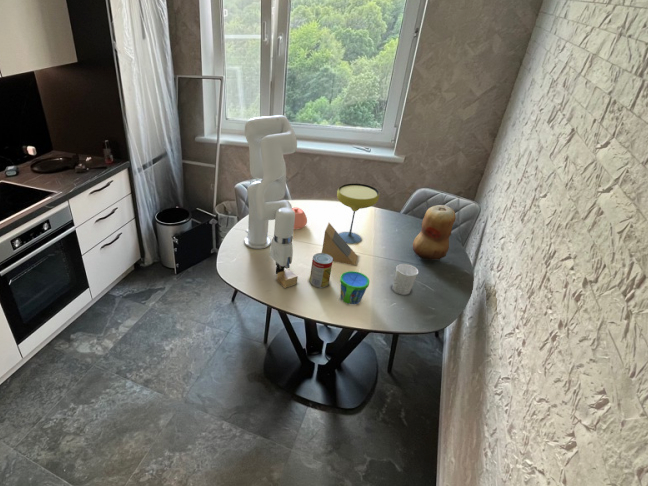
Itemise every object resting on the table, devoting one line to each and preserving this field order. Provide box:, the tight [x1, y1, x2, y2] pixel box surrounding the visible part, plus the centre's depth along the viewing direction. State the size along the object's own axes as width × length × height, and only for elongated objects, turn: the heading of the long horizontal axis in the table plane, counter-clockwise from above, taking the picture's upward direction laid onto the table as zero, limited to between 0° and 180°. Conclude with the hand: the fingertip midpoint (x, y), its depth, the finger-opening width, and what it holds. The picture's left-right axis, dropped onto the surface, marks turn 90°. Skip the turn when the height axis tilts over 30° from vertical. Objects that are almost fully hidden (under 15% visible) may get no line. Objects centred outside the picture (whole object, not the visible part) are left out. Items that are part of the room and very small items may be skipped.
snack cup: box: [339, 270, 370, 305], centre depth 155 cm, size 16×10×10 cm
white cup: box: [391, 263, 419, 296], centre depth 159 cm, size 8×8×10 cm
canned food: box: [309, 252, 333, 288], centre depth 165 cm, size 8×8×12 cm
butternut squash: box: [412, 204, 457, 261], centre depth 172 cm, size 14×13×25 cm
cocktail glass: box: [336, 183, 380, 245], centre depth 189 cm, size 18×18×25 cm
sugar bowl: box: [292, 206, 308, 230], centre depth 206 cm, size 12×14×10 cm
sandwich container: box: [321, 222, 359, 266], centre depth 178 cm, size 9×15×15 cm, turn 65°
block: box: [276, 268, 298, 289], centre depth 168 cm, size 6×6×4 cm
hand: (279, 273), depth 172 cm, fingers closed
